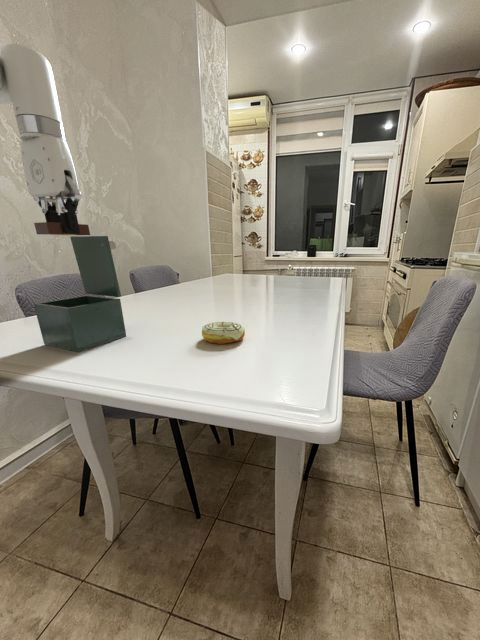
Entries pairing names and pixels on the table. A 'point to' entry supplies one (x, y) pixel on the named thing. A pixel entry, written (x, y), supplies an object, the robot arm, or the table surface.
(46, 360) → the table surface
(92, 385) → the table surface
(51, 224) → the chocolate
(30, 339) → the table surface
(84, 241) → the bin lid
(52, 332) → the bin
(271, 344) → the table surface
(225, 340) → the decorated donut
